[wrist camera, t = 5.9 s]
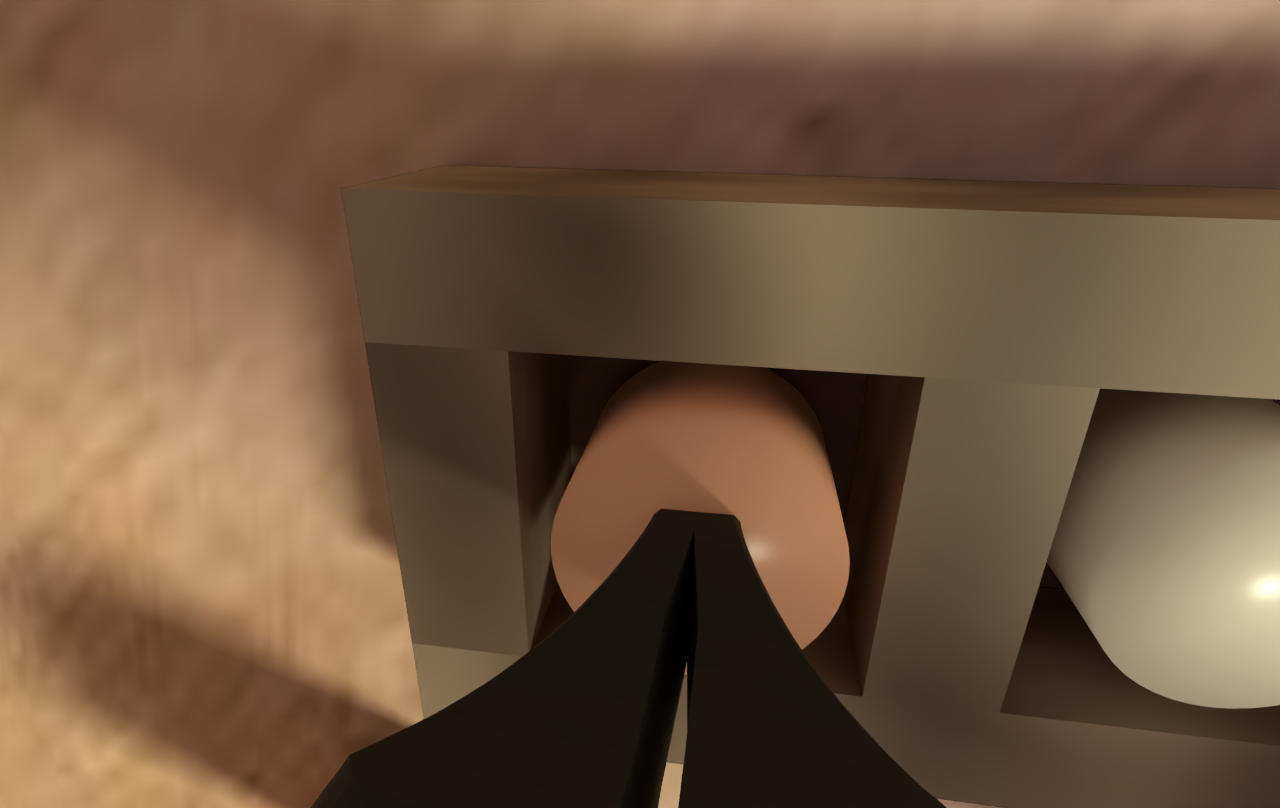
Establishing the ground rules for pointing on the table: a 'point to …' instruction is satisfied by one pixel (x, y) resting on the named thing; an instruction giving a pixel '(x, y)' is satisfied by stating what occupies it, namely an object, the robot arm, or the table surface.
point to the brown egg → (710, 483)
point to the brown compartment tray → (888, 440)
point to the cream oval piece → (1179, 543)
